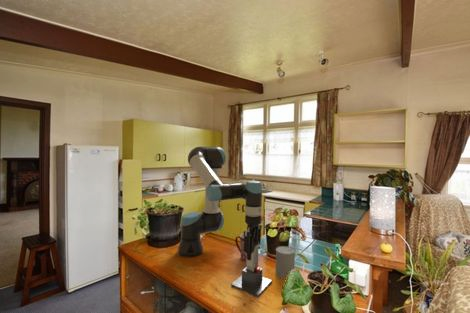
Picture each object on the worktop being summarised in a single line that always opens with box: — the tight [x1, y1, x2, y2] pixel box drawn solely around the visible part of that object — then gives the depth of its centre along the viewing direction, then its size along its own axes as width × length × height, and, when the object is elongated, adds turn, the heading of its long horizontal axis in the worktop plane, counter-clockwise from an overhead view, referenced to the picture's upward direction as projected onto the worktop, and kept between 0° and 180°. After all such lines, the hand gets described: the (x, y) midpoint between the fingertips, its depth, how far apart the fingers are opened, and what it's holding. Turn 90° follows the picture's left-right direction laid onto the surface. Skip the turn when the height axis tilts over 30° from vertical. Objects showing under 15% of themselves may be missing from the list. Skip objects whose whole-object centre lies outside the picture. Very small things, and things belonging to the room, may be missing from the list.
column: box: [245, 242, 261, 273], centre depth 109 cm, size 5×5×16 cm
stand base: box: [230, 266, 273, 298], centre depth 109 cm, size 14×14×8 cm
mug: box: [234, 233, 252, 262], centre depth 136 cm, size 13×9×14 cm
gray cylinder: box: [274, 245, 296, 280], centre depth 119 cm, size 10×10×12 cm
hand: (252, 263), depth 109 cm, fingers closed on column, 4 cm apart
